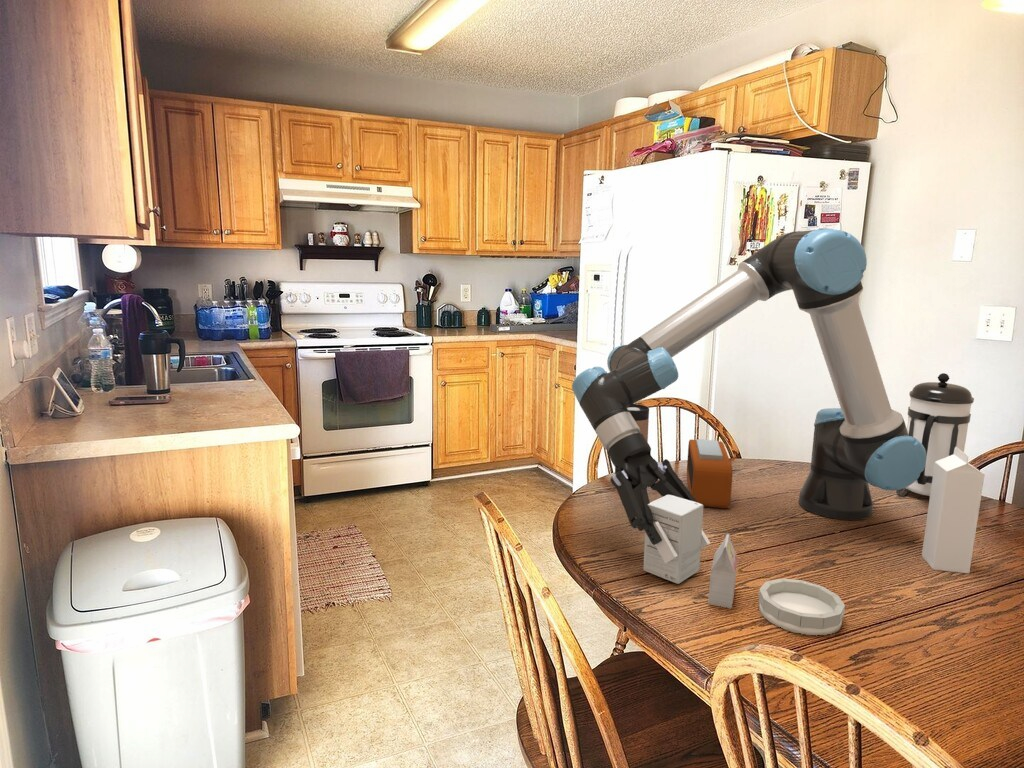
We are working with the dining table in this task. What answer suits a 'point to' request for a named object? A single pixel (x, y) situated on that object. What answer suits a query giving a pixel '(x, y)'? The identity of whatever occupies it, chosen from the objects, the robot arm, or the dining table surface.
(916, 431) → the coffee press
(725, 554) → the white juice carton
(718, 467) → the alarm clock
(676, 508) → the supplement box
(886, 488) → the robot arm
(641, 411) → the travel mug
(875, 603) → the dining table surface
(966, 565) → the milk
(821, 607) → the white faceted bowl
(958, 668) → the dining table surface
